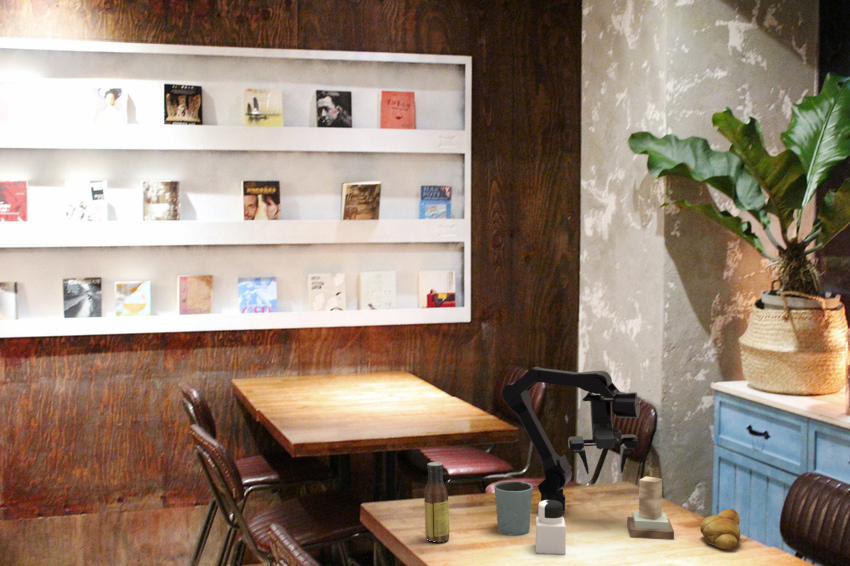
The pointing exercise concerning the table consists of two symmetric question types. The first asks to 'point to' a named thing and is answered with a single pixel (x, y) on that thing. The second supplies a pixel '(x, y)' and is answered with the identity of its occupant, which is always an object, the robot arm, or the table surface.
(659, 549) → the table surface
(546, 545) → the medicine bottle
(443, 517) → the sauce bottle
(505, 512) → the teal cup
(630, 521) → the walnut base slab
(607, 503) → the table surface
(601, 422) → the robot arm
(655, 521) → the sage slab
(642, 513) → the oak block
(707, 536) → the bread roll
